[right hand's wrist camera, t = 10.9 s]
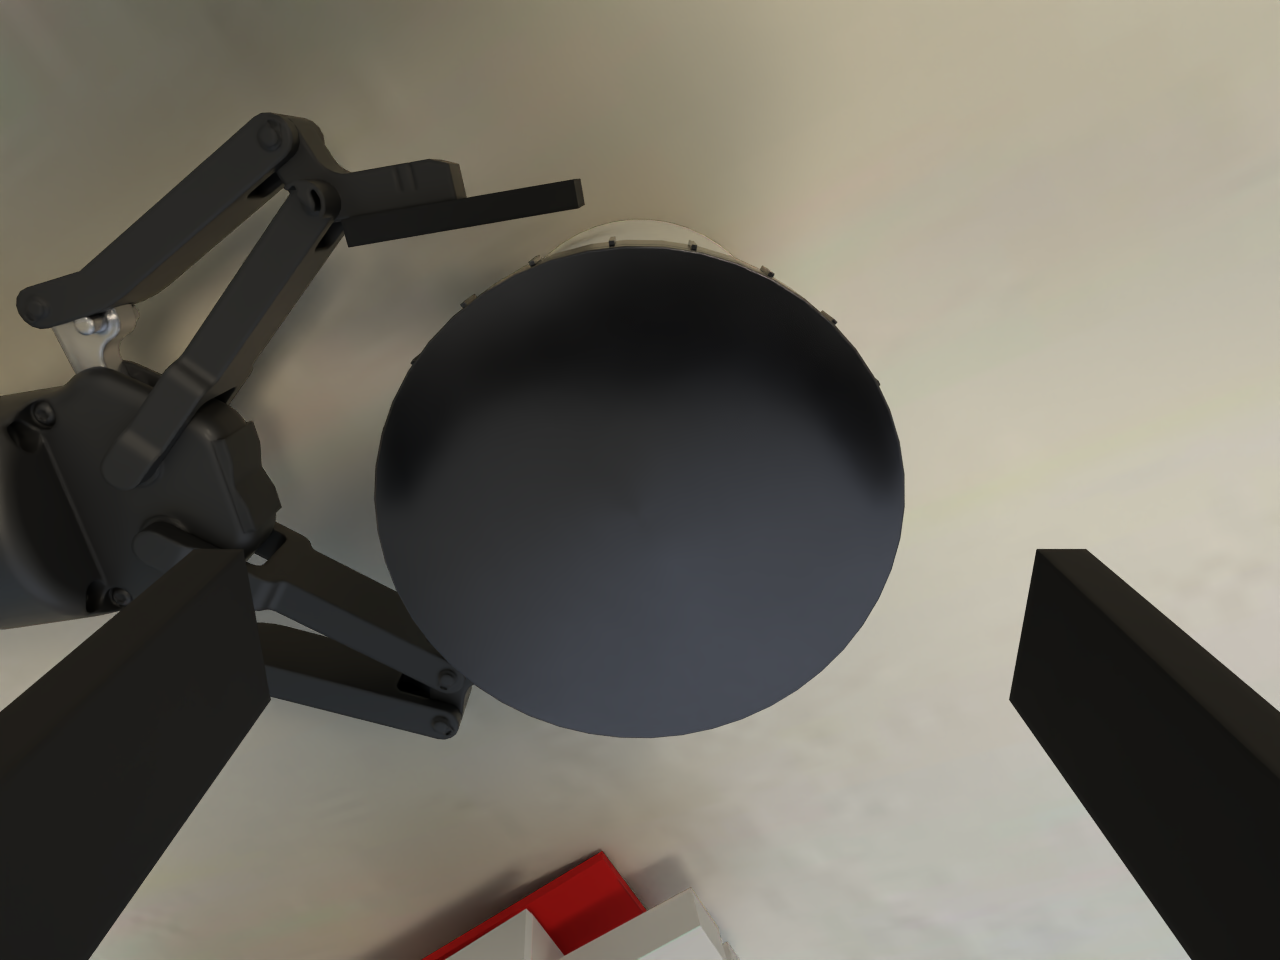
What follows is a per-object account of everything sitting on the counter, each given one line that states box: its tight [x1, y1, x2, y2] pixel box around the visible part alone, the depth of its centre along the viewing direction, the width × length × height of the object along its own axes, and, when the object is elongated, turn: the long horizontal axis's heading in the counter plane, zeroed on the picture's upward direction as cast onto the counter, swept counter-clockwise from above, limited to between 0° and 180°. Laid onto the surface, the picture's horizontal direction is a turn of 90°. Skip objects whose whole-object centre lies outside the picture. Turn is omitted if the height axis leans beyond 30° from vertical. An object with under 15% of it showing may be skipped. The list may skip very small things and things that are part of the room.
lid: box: [374, 236, 905, 738], centre depth 18 cm, size 11×11×2 cm
